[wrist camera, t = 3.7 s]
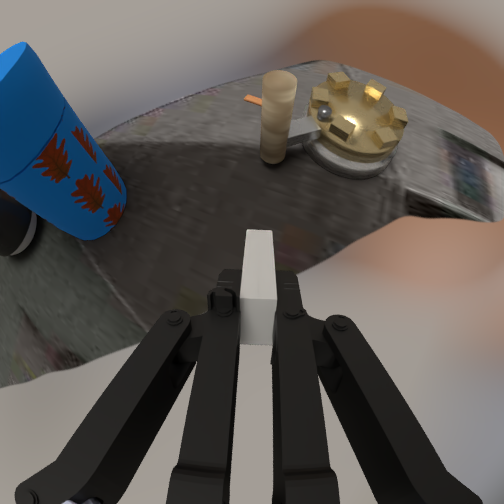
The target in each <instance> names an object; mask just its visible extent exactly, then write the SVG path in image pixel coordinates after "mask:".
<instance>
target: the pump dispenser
mask: <svg viewBox="0 0 504 504" xmlns="http://www.w3.org/2000/svg"><path fill="white" fill-rule="evenodd" d="M36 224H37V217H36V213H34V212H33V211H31V210H30V209H28V208H27V207H26V206H24V205H23V204H21V203H20V202H18V201H17V200H15V199H14V198H13V197H11V196H10V195H8V194H7V193H6V192H4V191H3V190H1V189H0V256H8V255H15V254H18V253H20V252H22V251H23V250H24V249H25V248H26V247H27V246H28V245H29V244H30V242H31V240H32V238H33V236H34V234H35V230H36Z"/></svg>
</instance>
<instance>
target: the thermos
mask: <svg viewBox="0 0 504 504" xmlns="http://www.w3.org/2000/svg"><path fill="white" fill-rule="evenodd" d="M0 189H1V190H3V191H4V192H6V193H7V194H8V195H10V196H11V197H13V198H14V199H15V200H17V201H18V202H20V203H21V204H23V205H24V206H26V207H27V208H28V209H30V210H31V211H33V212H34V213H36V214H37V215H39V216H40V217H42V218H43V219H45V220H46V221H48V222H50V223H51V224H53V225H54V226H56V227H57V228H59V229H61V230H63V231H65V232H67V233H69V234H71V235H73V236H75V237H77V238H79V239H82V240H95V239H97V238H99V237H101V236H103V235H105V234H106V233H107V232H109V231H110V230H111V229H112V228H113V227H114V226H115V225H116V223H117V222H118V220H119V219H120V217H121V216H122V214H123V211H124V208H125V204H126V201H127V198H126V188H125V185H124V183H123V181H122V179H121V177H120V176H119V174H118V173H117V171H116V170H115V168H114V166H113V165H112V164H111V162H110V161H109V160H108V158H107V157H106V156H105V154H104V153H103V151H102V150H101V149H100V147H99V146H98V145H97V143H96V142H95V141H94V139H93V138H92V136H91V135H90V134H89V132H88V131H87V129H86V128H85V127H84V125H83V124H82V122H81V121H80V120H79V118H78V117H77V115H76V114H75V112H74V111H73V109H72V108H71V107H70V105H69V104H68V102H67V101H66V99H65V98H64V97H63V95H62V93H61V92H60V90H59V89H58V87H57V86H56V84H55V83H54V81H53V79H52V78H51V76H50V75H49V73H48V72H47V70H46V69H45V67H44V65H43V64H42V63H41V61H40V59H39V57H38V56H37V54H36V53H35V52H34V51H33V50H32V48H31V47H30V46H29V45H28V44H27V43H26V42H20V43H18V44H15V45H13V46H12V47H10V48H8V49H7V50H6V51H4V52H3V53H1V54H0Z"/></svg>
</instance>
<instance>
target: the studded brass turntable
mask: <svg viewBox="0 0 504 504" xmlns="http://www.w3.org/2000/svg"><path fill="white" fill-rule="evenodd" d="M296 87H297V79H296V77H295V76H294V75H293V74H291V73H289V72H286V71H282V70H274V71H270V72H268V73H266V74H265V75H264V76H263V85H262V114H261V142H260V156H261V158H262V159H263V160H264V161H265V162H267V163H270V164H277V163H280V162H281V161H282V160H283V159H284V158H285V153H286V147H289V146H292V145H296V144H299V143H303V142H306V141H310V140H314V139H317V140H318V142H319V143H320V144H322V145H323V146H324V147H325V148H326V149H328V150H329V151H330V152H332V153H334V154H336V155H337V156H339V157H342V158H344V159H347V160H349V161H353V162H358V163H375V162H379V161H382V160H384V159H386V158H387V157H388V156H389V155H390V154H391V153H392V152H393V150H394V149H395V147H396V146H397V144H398V143H399V141H400V140H401V138H402V136H403V132H404V128H405V126H406V125H407V123H408V119H407V115H406V111H405V109H402V108H399V107H396V106H394V105H393V104H392V102H391V101H390V100H389V99H387V98H386V97H385V96H384V95H383V94H384V92H385V90H386V87H384V86H383V85H381V84H380V83H378V82H376V81H374V80H373V79H371V80H370V81H369V82H368V84H367V85H365V84H363V83H360V82H356V81H352V80H350V79H349V78H348V77H347V76H346V75H345V74H344V73H343V72H336V73H328V77H327V81H326V82H323V83H321V84H319V85H318V86H317V87H313V88H312V92H311V97H310V101H309V106H308V110H307V117H304V118H300V119H296V120H292V121H291V118H292V111H293V105H294V99H295V93H296Z"/></svg>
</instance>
